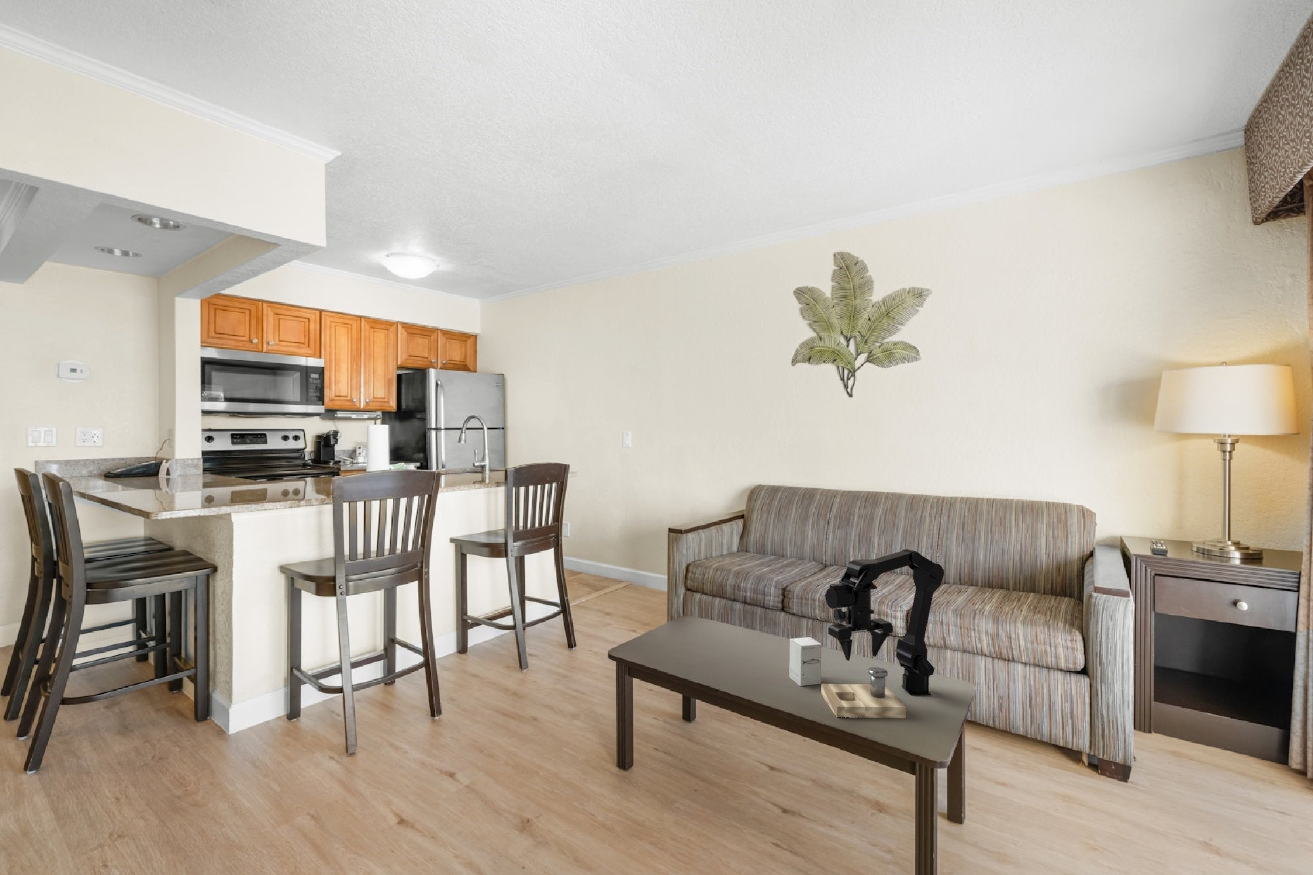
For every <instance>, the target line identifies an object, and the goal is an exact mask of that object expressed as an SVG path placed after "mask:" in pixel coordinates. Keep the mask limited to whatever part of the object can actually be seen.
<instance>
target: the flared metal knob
mask: <svg viewBox="0 0 1313 875" xmlns="http://www.w3.org/2000/svg"><path fill="white" fill-rule="evenodd" d="M888 672H889V671H888V670H887V669H886V668H882V667H878V666H877V667H876V666H872V667H869V668H868V669H867V673H868V674H869V675H870V682H869V683H870V695H871V696H873V697H875V698H884V697H885V685H886V678H887V677H888V675H889V674H888Z"/></svg>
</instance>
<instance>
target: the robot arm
mask: <svg viewBox="0 0 1313 875" xmlns="http://www.w3.org/2000/svg"><path fill="white" fill-rule="evenodd" d="M905 567H908V568H909V569H910V570H911V571H912V580H913V584H914V586H915V587H914V588H915V591H914V596H913V602H912V606H911V611H910V616H909V620H908V621H909V622H908V627H907V630H906V631H907V632H906V635H905V636H903V638H898V639H897V643H896V647H895V649H894V652H896V654H895V658H897V661H898V663H899V665H900V667H901V668H904V669H903V673H902V682H901V684H902V685H901V688H903V690H904V691H905V692H906V693H907V694H908V695H910V696H932V692H930V677H931V676H933V675H934V673H935V667H934V666H933V664H931V662H930V661H929V660H928V653H929V652H928V648H927V644H926V643H925V642H926V641H925V637H926V633H927V626H928V622H929V618H930V617H929V616H930V613H931V612H930V611H931V607H932V602H933V597H934V593H935V592H936V591H937V590H938V589H939V588H940V587H941V585H942V582H943V578H944V576H945V569H943V566H942V565H941V564H939V563H937V562H934V561H933V560H930V559H928V558H927V557H925V556H924V555H922V554H921V553H920V552H918V551H917V550H912V549H909V548H905V549H902V550H900V551H896V552H895V553H890V554H886V555H883V556H881V557H876V558H874V559H873V558H872V559H864V558H863V559H853V560H850V561H849V562H848V564H847V566H846V568H845V570H844V572H843V574H842V575H841V578H840V579H839V581H838V583H830V584H829V588H828V589H827V590H826V592H825V595H824V599H825V602H826V605H827V606H828V607H829V608H830V609H831V610H832V609H833V614H832V615H833V620H834V621H838V622H839V623H835V624H830V625H829V626H828V630H827V632H828V635H829V636H830V637H833V639H836V640H837V641H838V642H839V643H838V644H839V645H840V647H841V649H842V652H843V655H844V657H845V660H846V661H848V662H850V660H851V654H852V646H853V639H851V637H852V635H853V634H857V633H864V632H865V633H866V632H870V635H871V654H872V656H873V657H874V658H876V657H877V655H878V654H879V651H880V650H881V648H882V646H883V644H884V643H885V641H886V640H887V638H888V637H890V636H891V635H890V634H894V626H893V623H892V622H889V621H888V620H886V619H884V618H880V617H879V618H874V619H872V615H873V614H875V609H872V590H877V589H878V586H877V585H876V584H874V581H876V580H877V579H879V577H880V576H882V574H885V573H889V572H892V571H895V570H898V569H901V568H905ZM843 608H846V610H845V611H844V610H842V609H843ZM842 623H845V624H846V625H848V626H846V625H843V624H842ZM849 625H850V626H849Z"/></svg>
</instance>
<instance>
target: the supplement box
mask: <svg viewBox="0 0 1313 875" xmlns="http://www.w3.org/2000/svg"><path fill="white" fill-rule="evenodd" d="M788 667H789V670H788V671H789V672H788V675H789V676H788V678H790V680H792V681H793V682H794V683H796V684H797V685H798V687H799V686H800V687H803V686H811V685H812V686H813V685H821V684H822V683H821V682H822V643H820V642H819V641H817V640H816V639H814V638H812V637H811V636H809V637H794V638H789V666H788Z"/></svg>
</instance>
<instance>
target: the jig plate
mask: <svg viewBox="0 0 1313 875" xmlns="http://www.w3.org/2000/svg"><path fill="white" fill-rule="evenodd" d="M820 685H821V689H820V690H821V691H820V693H821V694H820V695H821V696H822V697H823V699H824V700H825V702H826V704H827V705H828V706H829V708H830V710H831V711H832V712H833V714H834V715H836V716H835V717H836V718H837V717H841V718H842V717H845V718H846V717H849V719H851V718H853V719H859V718H860V719H861V718H862V719H864V718H865V719H907V707H906V705H905V704H904V703H903V701H901V700H900V699H899V698H898V696H896V695H895V693H894V692H893V691H892V690H891V689H890V688H889V687H888V686H887V685H886V684H885V697H884V698H875V697H873V696H871V695H870V684H869V683H867V684H864V683H861V684H860V683H858V684H857V683H852V684H851V683H821V684H820ZM858 717H859V718H858ZM841 718H840V719H841Z"/></svg>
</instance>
